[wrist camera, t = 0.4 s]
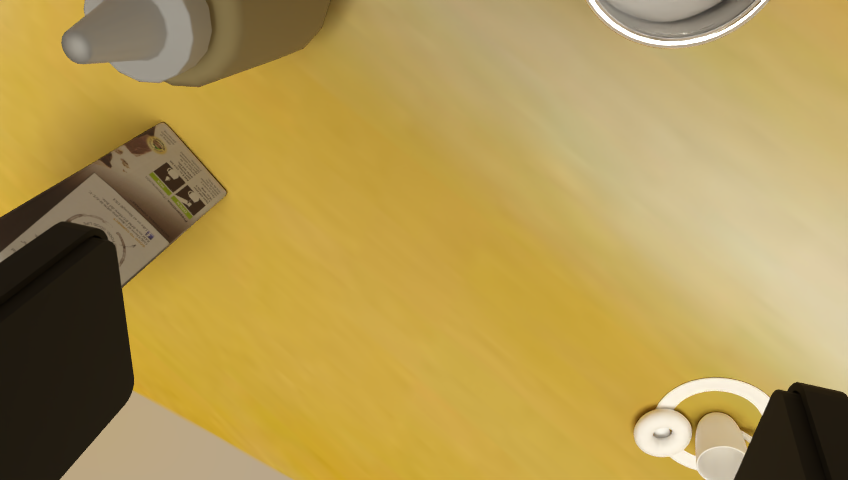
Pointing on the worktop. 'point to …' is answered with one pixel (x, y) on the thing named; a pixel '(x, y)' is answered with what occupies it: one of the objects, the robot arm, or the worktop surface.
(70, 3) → the worktop surface
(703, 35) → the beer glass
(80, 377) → the robot arm
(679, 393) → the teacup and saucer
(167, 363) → the worktop surface
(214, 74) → the squeeze bottle
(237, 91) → the worktop surface
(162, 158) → the coffee box
